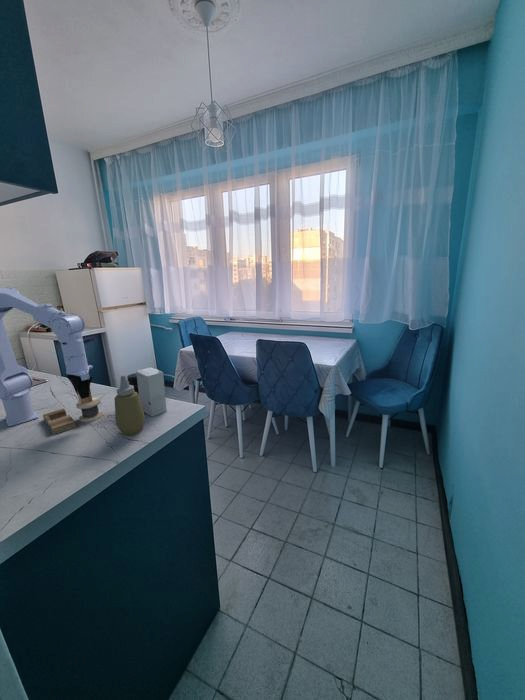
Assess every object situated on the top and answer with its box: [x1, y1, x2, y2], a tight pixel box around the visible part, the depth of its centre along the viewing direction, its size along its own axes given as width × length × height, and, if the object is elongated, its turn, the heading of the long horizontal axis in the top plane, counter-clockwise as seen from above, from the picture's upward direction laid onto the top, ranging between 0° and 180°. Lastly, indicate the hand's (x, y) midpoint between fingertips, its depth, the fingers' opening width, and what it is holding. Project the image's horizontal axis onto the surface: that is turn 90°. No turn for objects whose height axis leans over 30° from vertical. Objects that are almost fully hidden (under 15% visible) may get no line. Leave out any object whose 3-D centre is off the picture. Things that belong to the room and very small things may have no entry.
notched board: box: [42, 408, 77, 435], centre depth 95 cm, size 14×6×2 cm, turn 46°
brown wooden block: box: [76, 390, 93, 404], centre depth 91 cm, size 3×3×6 cm
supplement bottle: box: [126, 373, 139, 395], centre depth 104 cm, size 7×7×12 cm
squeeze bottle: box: [113, 374, 146, 437], centre depth 86 cm, size 8×8×18 cm
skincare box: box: [136, 366, 168, 417], centre depth 100 cm, size 8×6×15 cm
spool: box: [75, 397, 104, 423], centre depth 98 cm, size 7×7×6 cm
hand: (83, 396), depth 91 cm, fingers closed on brown wooden block, 3 cm apart
